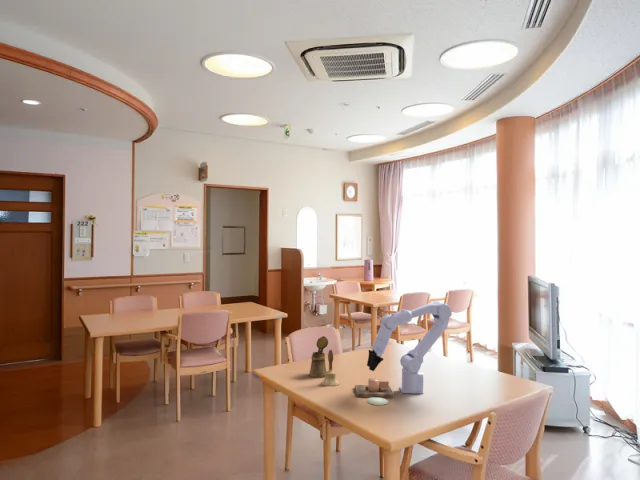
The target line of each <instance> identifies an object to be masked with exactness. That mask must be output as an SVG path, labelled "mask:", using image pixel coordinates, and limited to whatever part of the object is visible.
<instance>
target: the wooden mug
mask: <svg viewBox="0 0 640 480" xmlns="http://www.w3.org/2000/svg"><path fill="white" fill-rule="evenodd" d="M328 344H329V340H328V338H327V337H326V336H324V335H322V336H320V337H319V338H318V339H317V341H316V347H317V348H318V349H317V350H318V351H313V352H312V354H311V363H310V369H309V376H310V377H312V378H315V379H317V378H318V379H319V378H320V379H321V378H322V379H323V378H325V375H326V372H327V371H328V370H327V366H326V355H325V354H326V353H324V349H325V348H327V347H328Z"/></svg>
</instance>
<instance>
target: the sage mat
mask: <svg viewBox="0 0 640 480" xmlns="http://www.w3.org/2000/svg"><path fill="white" fill-rule="evenodd" d="M367 402H368V404H369V405H372V404H373V405H372V406H385V405H384V404H386V405H388V403H389V401H388V400H387V399H385V398H379V397H367V398H366V403H367Z"/></svg>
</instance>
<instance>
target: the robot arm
mask: <svg viewBox="0 0 640 480" xmlns="http://www.w3.org/2000/svg"><path fill="white" fill-rule="evenodd" d="M451 309H452V308H451V307H450V305H449V304H447V303H443V302H440V301H436V300H435V301H433V302H428V303H426V304H424V305H421V306H419V307H416V308H414V309H411V310H408V309H404V308H402V309H400V311H397V312H391V314H385V315H383V317H382V318H381V320H380V321H381V322H380V323H381V325H380V327H379V329H378V332H377V334H376V336H375V339H374V342H373V345H368V347H369V348H370V349H368V358H367V363H366V366H367V367H369V371H372V372H374V371H375V370H376V368H377V367H378V366H379V365H380V364H381V362H383V361H384V358H383V357H382V356H383V355H384V354H385V350H386V348H387V345H388V343H389V341H390V338H391V336H392V334H393V331H394V330H395V329H396V328H398V326H401V325H403V324H407V323H410V322H411V321H412V319H414V318H417V317H421V316H424V315H427V314H431V316H432V317H433V321H434V324H432V326H431V327H430V329H428V331H427V332H426V333H425V335H424V336H423V337H422V338H421V340H420V341H419V342H418V343H417V345H416V346H415V347H414V348H413V349H411V350H409V351H408V352H407V353H405V354H403V355H402V356H401V357H400V359H399V360H400V362H399V363H400V365H401V366H402V369H401V386H399V390H400V391H401V393H402V394H420V395H421V394H424V373H423V372H422V371H420V370H421V366H422V364H423V363H424V356H426V354H427V353H428V351H429V350H430V349H431V348H432V347H433V346H434V344H435V343H436V341H438V340H439V338H440V337H441V336H442V335H443V333H444V332H445V331H446V330H447V328H448V326H449V321H450V318H451V317H452V315H453V313H452V310H451Z"/></svg>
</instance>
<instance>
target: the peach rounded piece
mask: <svg viewBox="0 0 640 480" xmlns="http://www.w3.org/2000/svg"><path fill="white" fill-rule="evenodd" d="M389 383H390V382H389V380H381V379H380V378H376V377H369V378H368V382H367V385H368V390H367V392H380V390H379V388H389V386H390V385H389Z"/></svg>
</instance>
